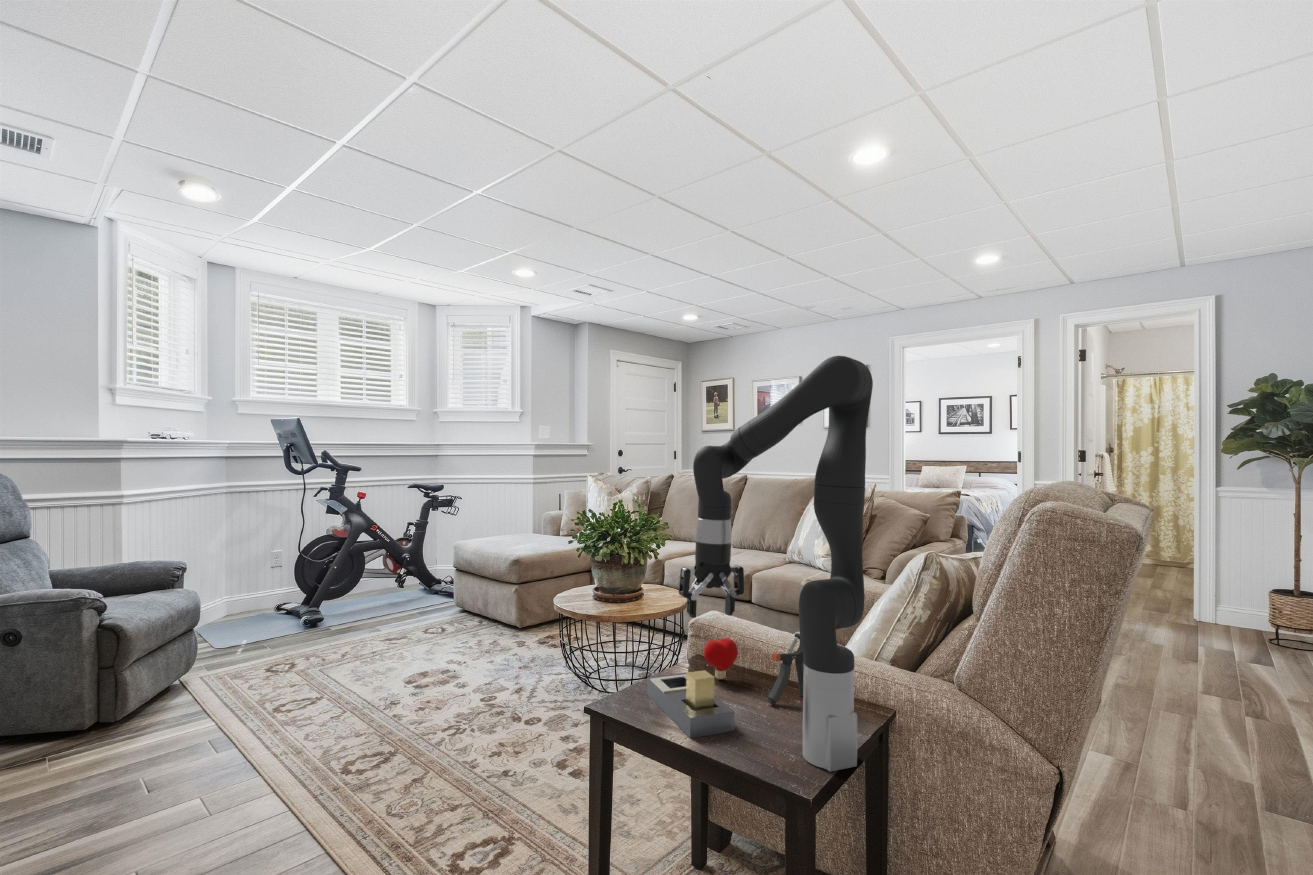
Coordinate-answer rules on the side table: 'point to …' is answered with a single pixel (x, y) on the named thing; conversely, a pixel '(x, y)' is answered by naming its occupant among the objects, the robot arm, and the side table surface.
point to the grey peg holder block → (673, 702)
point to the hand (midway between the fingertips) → (710, 615)
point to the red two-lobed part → (720, 655)
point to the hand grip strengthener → (787, 670)
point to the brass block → (699, 690)
